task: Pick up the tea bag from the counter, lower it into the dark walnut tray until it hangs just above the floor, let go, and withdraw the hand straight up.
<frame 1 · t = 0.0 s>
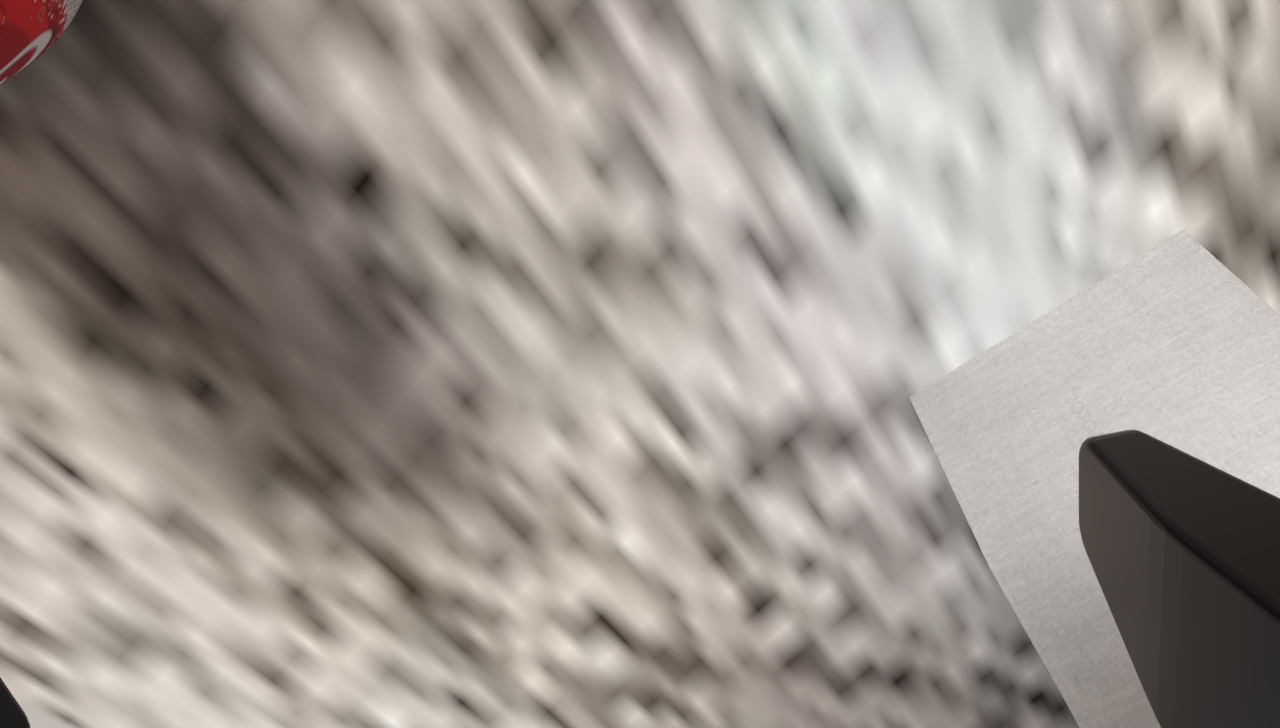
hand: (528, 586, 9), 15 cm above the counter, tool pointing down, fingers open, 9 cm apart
tea bag: (1073, 367, 26), on the counter
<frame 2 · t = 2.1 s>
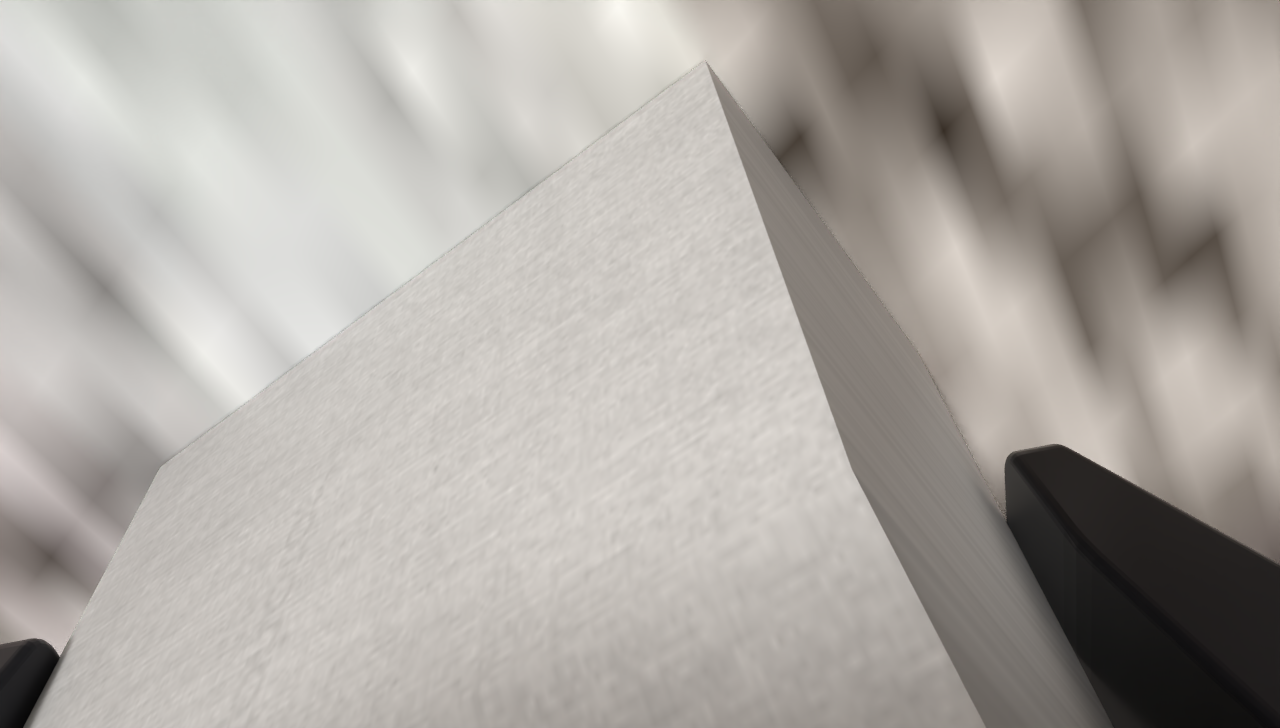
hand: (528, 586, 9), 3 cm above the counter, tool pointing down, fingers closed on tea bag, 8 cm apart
tea bag: (536, 400, 12), on the counter, touching gripper
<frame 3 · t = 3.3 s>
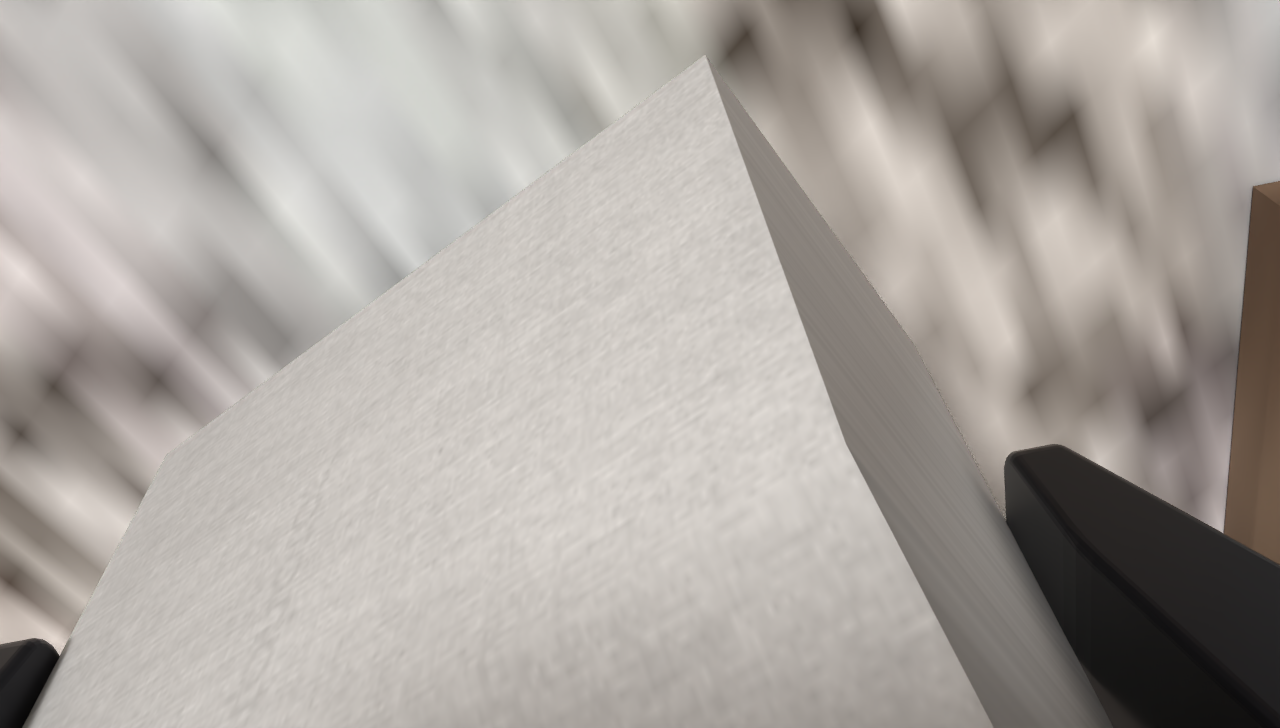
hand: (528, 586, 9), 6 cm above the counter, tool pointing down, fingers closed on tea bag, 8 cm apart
tea bag: (537, 390, 12), point 3 cm above the counter, touching gripper
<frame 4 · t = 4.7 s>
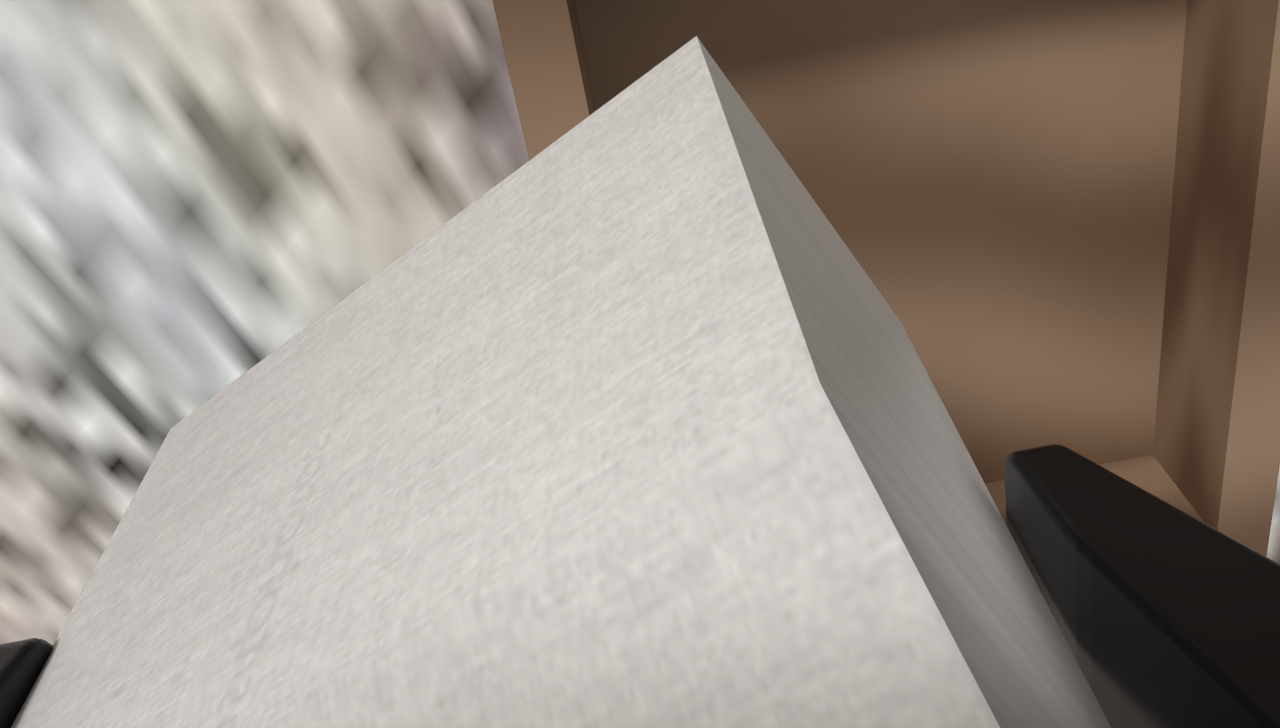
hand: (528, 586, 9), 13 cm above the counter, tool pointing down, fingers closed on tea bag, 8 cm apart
tea bag: (533, 366, 12), point 9 cm above the counter, touching gripper
walnut tray: (888, 219, 22), on the counter
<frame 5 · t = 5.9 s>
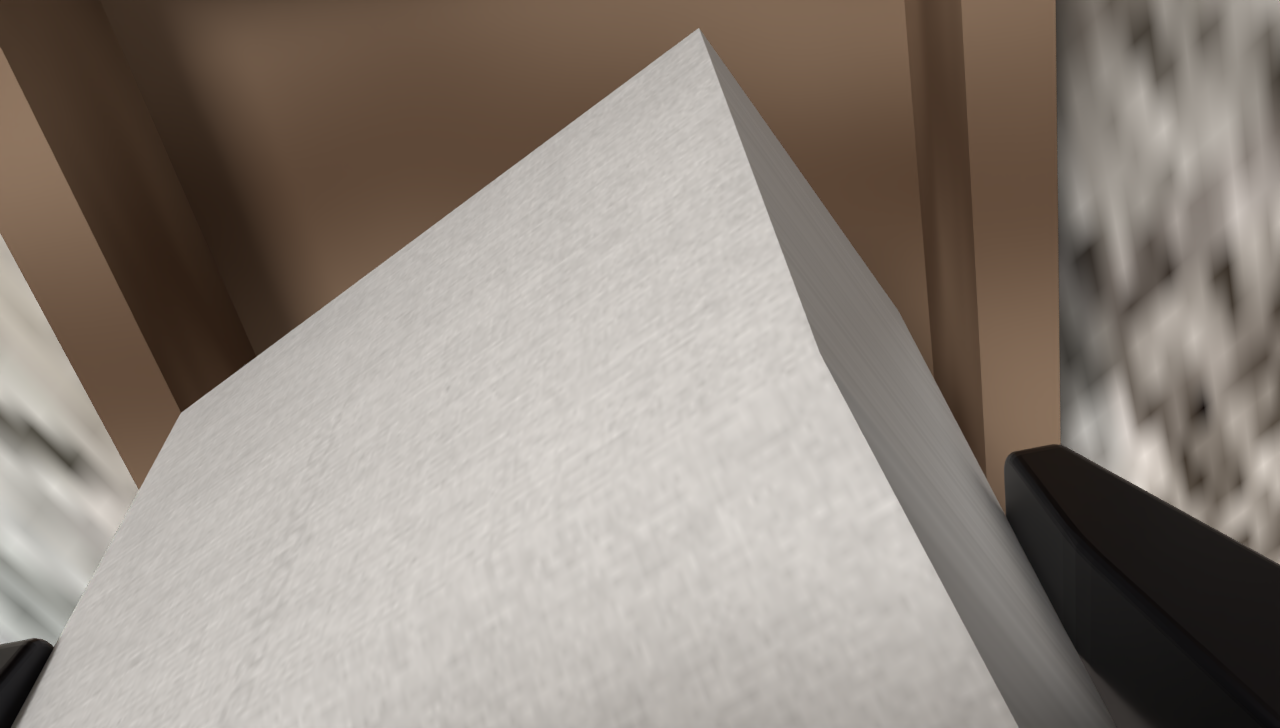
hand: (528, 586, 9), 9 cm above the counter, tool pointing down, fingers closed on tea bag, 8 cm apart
tea bag: (537, 352, 12), point 5 cm above the counter, touching gripper
walnut tray: (559, 174, 17), on the counter
when the fingers open (5 cm above the counter, at t = 7.2 s): tea bag stays where it is, resting on walnut tray.
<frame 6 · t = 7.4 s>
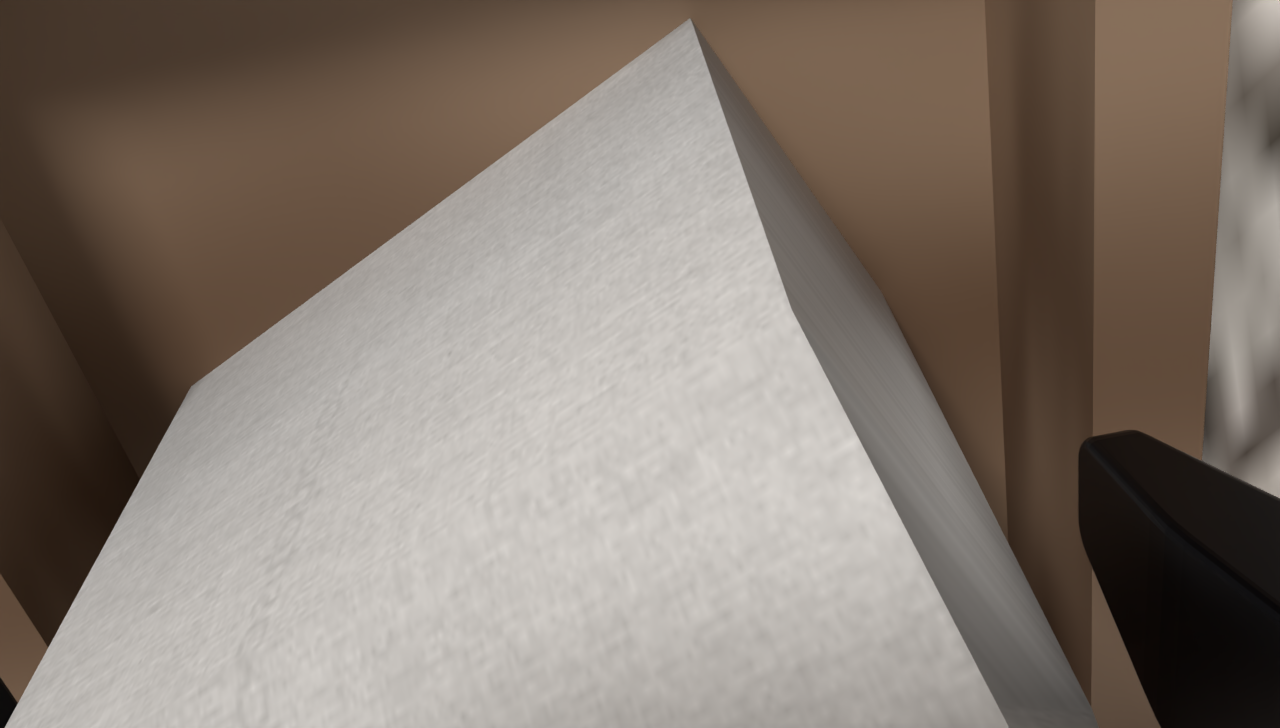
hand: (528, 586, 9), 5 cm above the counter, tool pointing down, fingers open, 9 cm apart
tea bag: (534, 330, 13), point 1 cm above the counter, touching walnut tray
walnut tray: (544, 306, 13), on the counter
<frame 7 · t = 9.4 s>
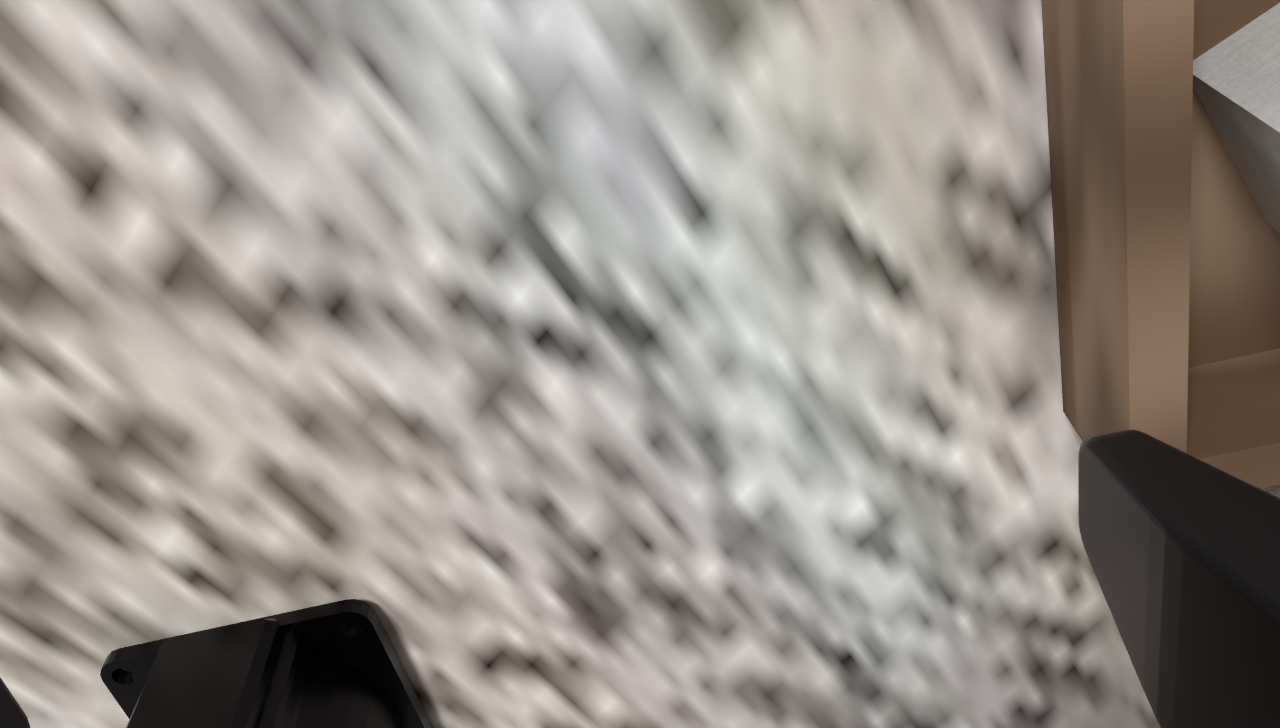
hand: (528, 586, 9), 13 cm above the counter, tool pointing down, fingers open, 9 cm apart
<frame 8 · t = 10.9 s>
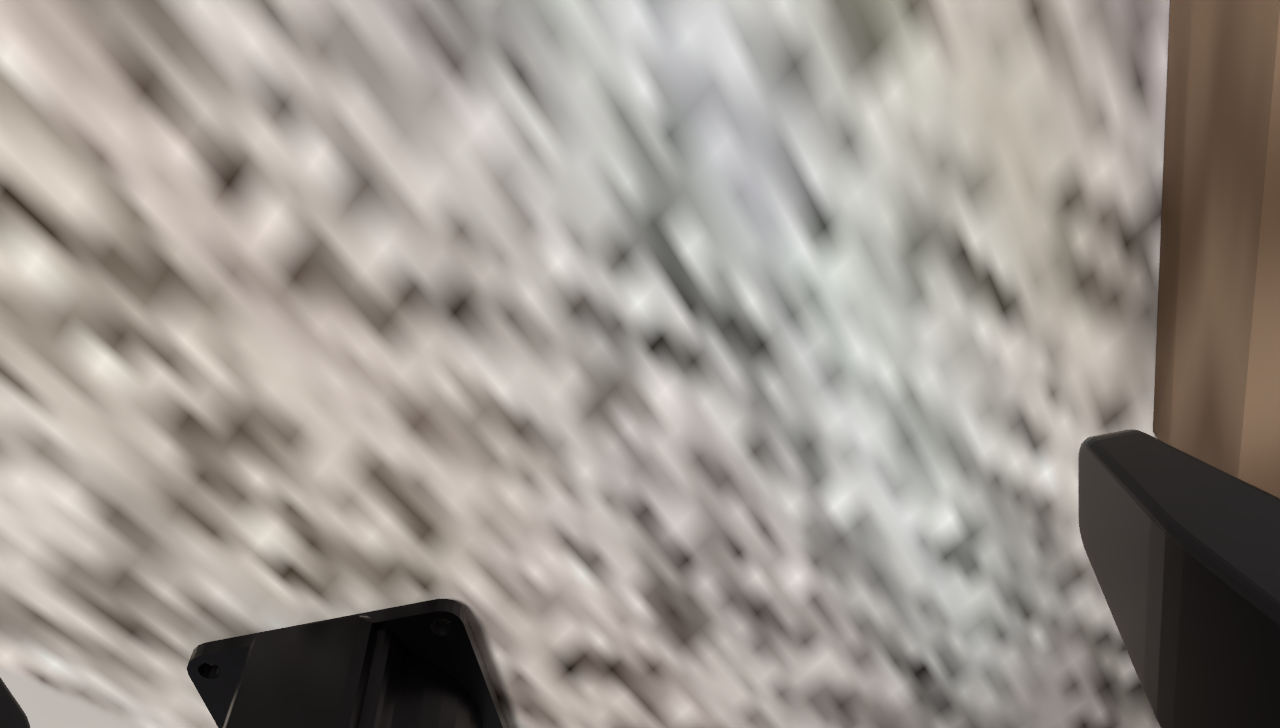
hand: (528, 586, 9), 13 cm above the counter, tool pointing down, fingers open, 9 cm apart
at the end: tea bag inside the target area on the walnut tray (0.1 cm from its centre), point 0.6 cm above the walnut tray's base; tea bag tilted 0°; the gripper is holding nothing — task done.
